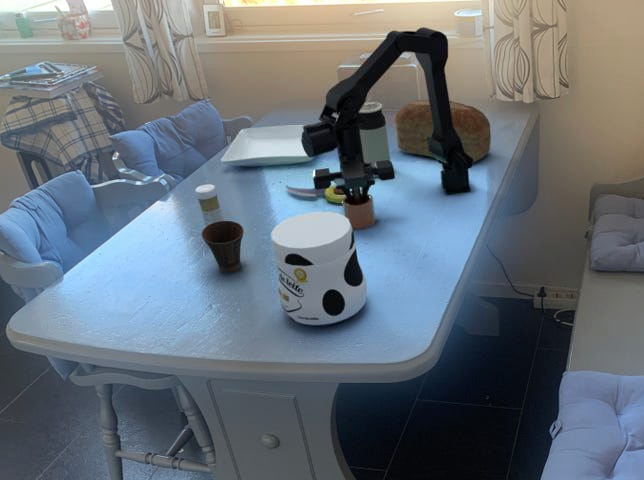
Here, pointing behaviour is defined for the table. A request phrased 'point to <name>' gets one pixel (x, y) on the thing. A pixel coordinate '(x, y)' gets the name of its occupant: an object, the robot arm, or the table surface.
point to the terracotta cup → (359, 213)
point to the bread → (418, 126)
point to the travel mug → (374, 134)
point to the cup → (225, 243)
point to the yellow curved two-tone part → (330, 193)
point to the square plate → (267, 147)
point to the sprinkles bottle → (209, 204)
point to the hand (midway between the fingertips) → (358, 208)
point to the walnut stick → (356, 196)
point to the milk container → (318, 269)
